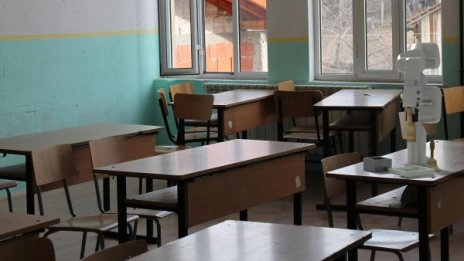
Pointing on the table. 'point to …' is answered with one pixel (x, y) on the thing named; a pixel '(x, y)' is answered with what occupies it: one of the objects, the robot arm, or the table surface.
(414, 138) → the dowel
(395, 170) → the tray
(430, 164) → the hand bell
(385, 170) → the grey socket block
